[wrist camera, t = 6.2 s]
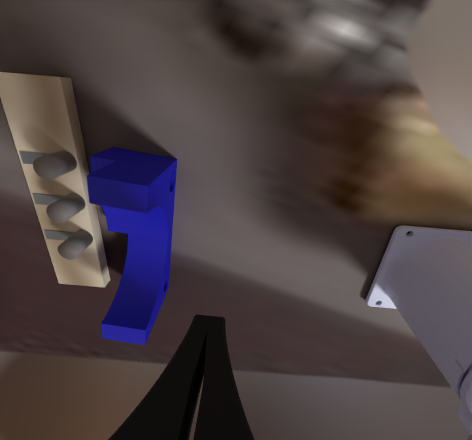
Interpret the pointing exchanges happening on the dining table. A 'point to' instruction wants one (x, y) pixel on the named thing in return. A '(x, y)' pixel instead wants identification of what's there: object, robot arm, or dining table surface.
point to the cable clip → (136, 234)
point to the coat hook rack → (56, 173)
